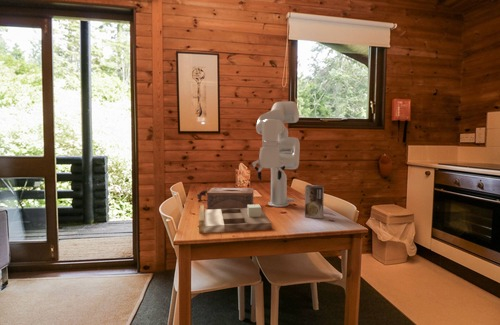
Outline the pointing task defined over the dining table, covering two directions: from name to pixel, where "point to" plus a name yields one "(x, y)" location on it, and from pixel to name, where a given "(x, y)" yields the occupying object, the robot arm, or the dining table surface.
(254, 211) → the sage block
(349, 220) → the dining table surface
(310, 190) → the coffee box
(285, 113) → the robot arm
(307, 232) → the dining table surface
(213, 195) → the tissue box cover
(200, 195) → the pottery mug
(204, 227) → the box
